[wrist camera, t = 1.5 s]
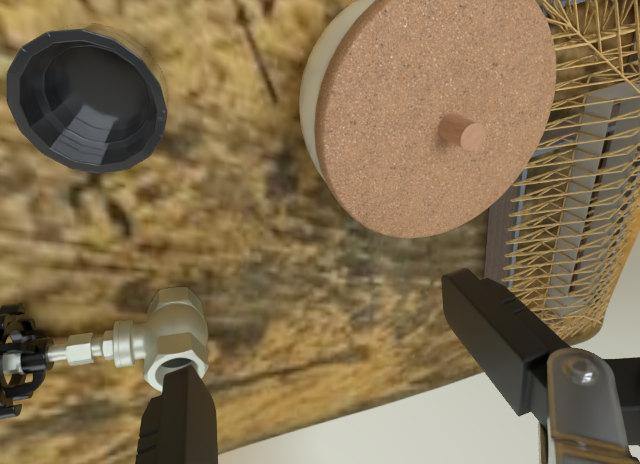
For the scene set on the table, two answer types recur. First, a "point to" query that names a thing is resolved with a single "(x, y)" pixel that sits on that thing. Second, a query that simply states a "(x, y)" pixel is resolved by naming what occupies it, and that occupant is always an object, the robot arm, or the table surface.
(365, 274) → the table surface
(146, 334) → the valve
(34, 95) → the dark gray metal cup
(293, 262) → the table surface
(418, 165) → the lidded bowl
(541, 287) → the rafter model
